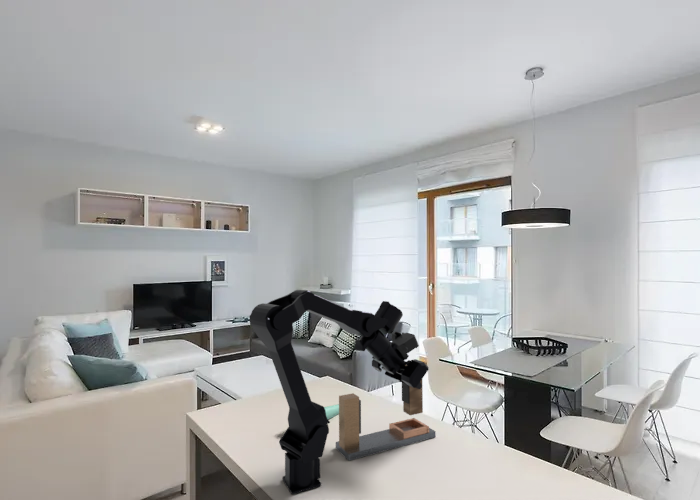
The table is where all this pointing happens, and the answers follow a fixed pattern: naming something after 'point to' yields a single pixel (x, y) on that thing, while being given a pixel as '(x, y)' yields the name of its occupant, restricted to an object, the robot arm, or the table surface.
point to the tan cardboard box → (412, 399)
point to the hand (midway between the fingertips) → (416, 385)
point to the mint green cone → (331, 411)
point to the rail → (378, 441)
